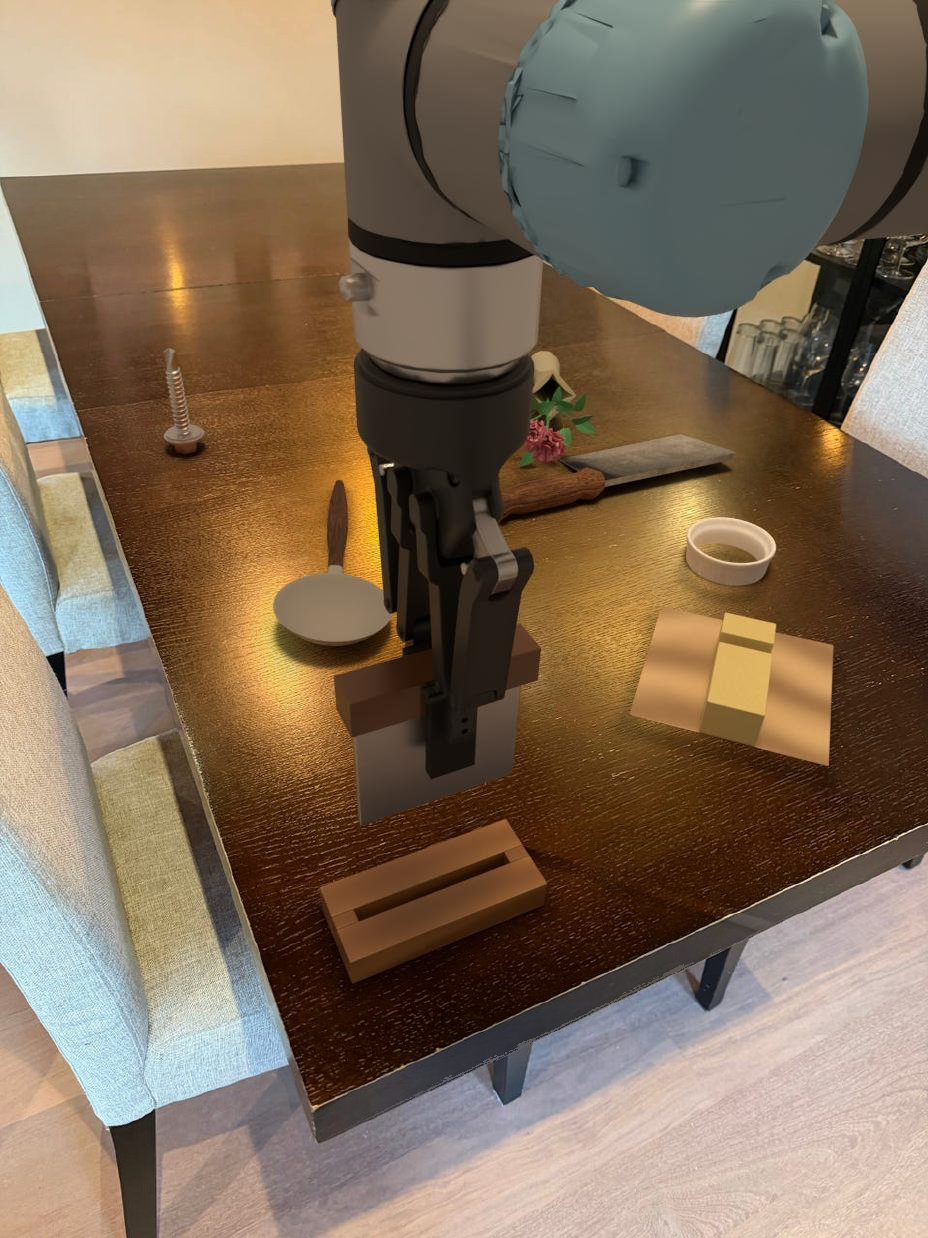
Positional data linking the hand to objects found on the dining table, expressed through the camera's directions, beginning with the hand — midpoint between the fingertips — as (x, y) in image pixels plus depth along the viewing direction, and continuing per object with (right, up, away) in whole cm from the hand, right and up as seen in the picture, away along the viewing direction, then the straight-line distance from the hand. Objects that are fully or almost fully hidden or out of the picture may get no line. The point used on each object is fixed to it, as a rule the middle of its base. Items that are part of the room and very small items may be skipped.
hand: (438, 748), depth 51 cm
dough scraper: (0, -3, +3) cm, 4 cm away
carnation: (+13, +43, +77) cm, 89 cm away
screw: (-33, +28, +60) cm, 74 cm away
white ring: (+29, +12, +43) cm, 53 cm away
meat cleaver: (+17, +25, +58) cm, 65 cm away
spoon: (-12, +13, +42) cm, 45 cm away
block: (-1, -12, +10) cm, 16 cm away
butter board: (+25, +1, +28) cm, 38 cm away
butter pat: (+26, +4, +30) cm, 40 cm away
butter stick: (+24, 0, +24) cm, 34 cm away
